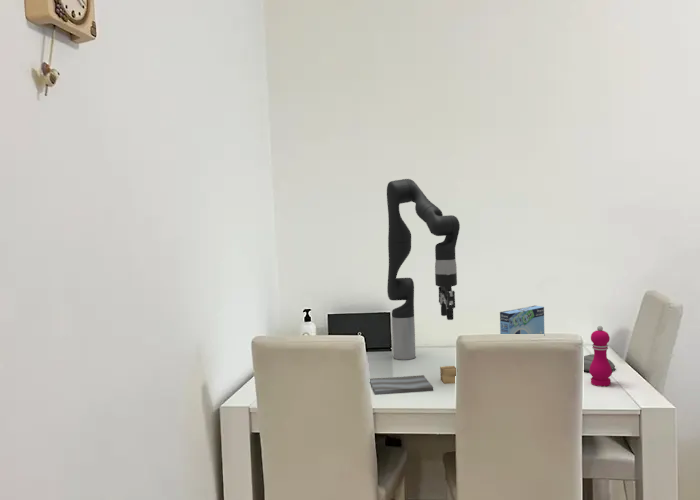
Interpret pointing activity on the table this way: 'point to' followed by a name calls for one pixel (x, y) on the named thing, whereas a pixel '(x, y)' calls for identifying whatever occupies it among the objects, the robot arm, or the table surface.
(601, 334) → the pepper mill
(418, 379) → the slate board
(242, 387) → the table surface
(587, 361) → the grey round bowl
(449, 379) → the oak cube
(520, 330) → the gum box
